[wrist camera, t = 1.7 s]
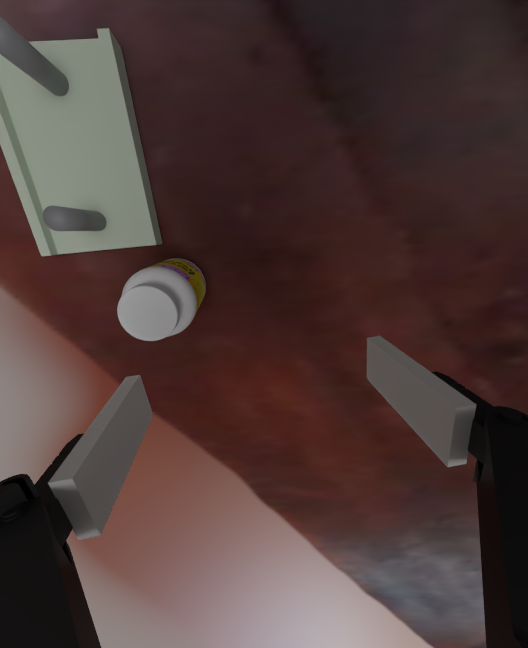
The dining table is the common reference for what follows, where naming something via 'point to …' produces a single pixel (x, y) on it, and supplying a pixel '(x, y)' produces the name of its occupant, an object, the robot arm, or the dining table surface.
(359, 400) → the dining table surface
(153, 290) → the supplement bottle
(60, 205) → the tray
